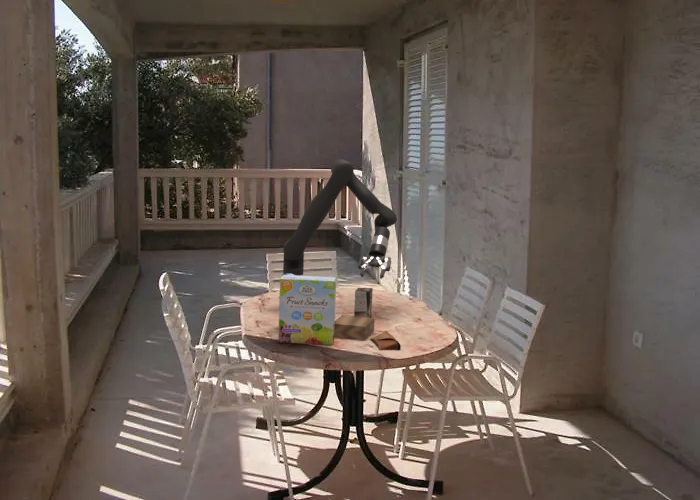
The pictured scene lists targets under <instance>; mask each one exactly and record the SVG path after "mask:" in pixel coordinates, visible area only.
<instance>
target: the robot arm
mask: <svg viewBox="0 0 700 500" xmlns="http://www.w3.org/2000/svg"><path fill="white" fill-rule="evenodd" d="M330 167H331V168H330V170H331V175H330V177H329V179H328V181H327V182H326V184H325V186H324V187H323V188H322V189H321V190H320V191H318V193H317V194H316V195H315V196H314V197H313V199H312V200H311V202H310V203H309V204H308V206H307V208H306V210H305V211H304V212H303V215H302V218H301V220H300V221H299V225H298V226H297V228H296V230H295V232H294V233H293V234H292V236H291V237H290V238H289V239H287V241H285V243H284V245H283V250H282V252H283V267H282V268H283V269H282V270H283V271H282V274H294V275H296V276H304V269H305V267H304V265H305V263H304V262H305V259H304V258H305V250H306V248H307V246H308V244H309V242H310V240H311V238H312V237H313V235H314V234H315V233H316V232H317V230H318V229H319V227H320V226H321V224H323V222H324V220H325V219H326V217H327V216H328V214H329V212H330V211H331V209H332V207H333V205H334V204H335V202H336V200H337V198H338V197H339V195H340V193H341V192H342V190H343V189H344V188H345V187H347V188H348V189H349V190H350V191H351V193H352V194H353V195H354V197H356V199H357V200H358V201H359V203H360V204H361V206H363V207H364V208H365V210H366V211H368V213H369V214H370V215H375V214H376V217H375V219H374V234H373V238H372V241H371V244H370V247H369V251H368V255H367V256H364V255H360V257H359V260H358V264H357V267H358V269H359V270H360V272H359V274H360V276H361V278H364V276H365V273H366V270H367V269H370V268H374V267H375V268H380V274H379V278H380V279H383V278H384V277H385V273H386V272H390V271H391V266H392V260H391V259H392V258H391V257H388V258H386V254H387V251H388V247H389V240H390V237H391V230H390V229H389V227H391V226H393V225H395V224H396V223H397V221H398V217H397V214H396V213H395V212H394V210H392V209H391V208H390V207H388V206H387V205H385V204H384V203H382V202H381V201H380V200H379V199H378V198H377V196H376V195H375V194H374V193H373V191H371V190H370V189H369V188H368V187H367V186H366V185H365V184H364V183H363V182H362V181H361V180H360V179H359V177H357V175H356V173H355V172H354V167H353V165H352V163H351V162H349V161H348V160H346V159H343V158H341V159H340V158H339V159H335V160H334V161H333V162H332V164H331V166H330ZM384 263H386V266H385V265H384Z"/></svg>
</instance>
